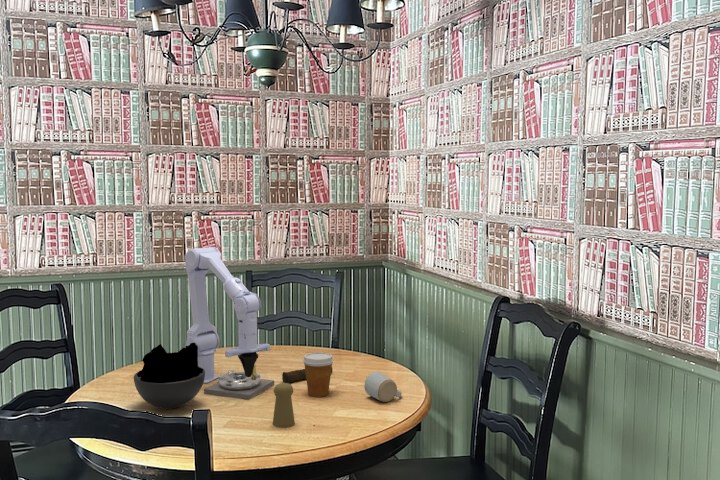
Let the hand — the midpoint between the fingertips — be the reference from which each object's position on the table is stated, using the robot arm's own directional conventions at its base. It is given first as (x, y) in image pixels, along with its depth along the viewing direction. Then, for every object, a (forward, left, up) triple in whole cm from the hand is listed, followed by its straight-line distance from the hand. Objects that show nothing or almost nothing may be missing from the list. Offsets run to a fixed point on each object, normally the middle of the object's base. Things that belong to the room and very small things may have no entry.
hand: (248, 376), depth 208 cm
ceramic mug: (+41, +11, -6) cm, 43 cm away
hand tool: (+10, +21, -6) cm, 24 cm away
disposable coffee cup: (+21, +7, -5) cm, 22 cm away
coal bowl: (-14, -20, -5) cm, 25 cm away
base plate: (-4, +2, -5) cm, 7 cm away
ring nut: (-4, +2, -3) cm, 6 cm away
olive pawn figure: (+23, -20, -5) cm, 31 cm away
